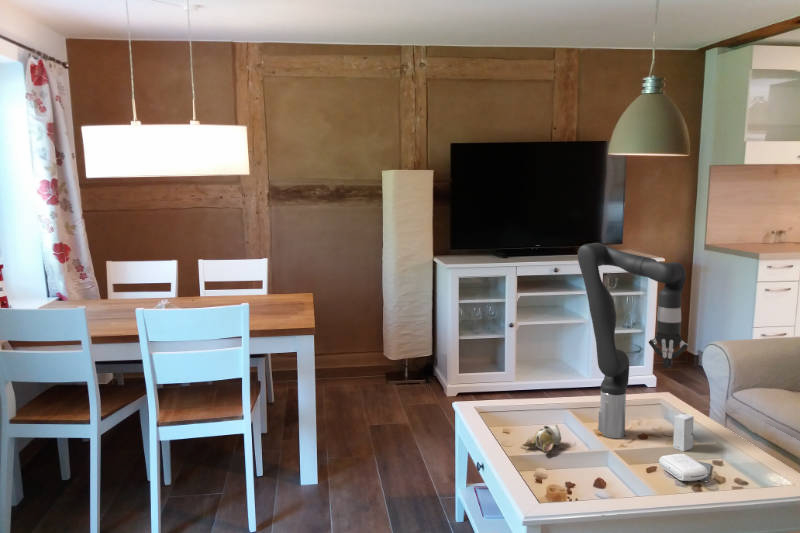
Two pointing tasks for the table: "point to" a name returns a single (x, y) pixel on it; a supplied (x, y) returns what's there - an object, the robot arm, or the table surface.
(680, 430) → the skincare box
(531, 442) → the ceramic sculpture
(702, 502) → the table surface
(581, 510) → the table surface
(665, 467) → the photo printer
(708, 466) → the mat
